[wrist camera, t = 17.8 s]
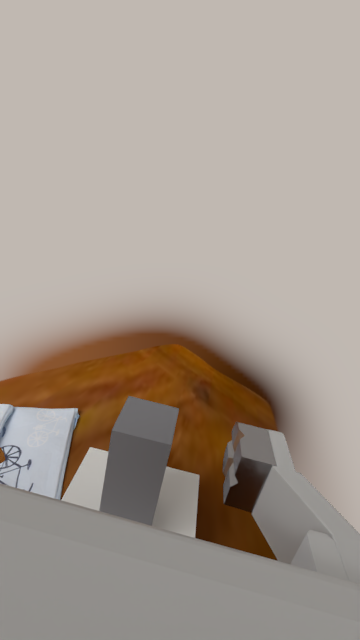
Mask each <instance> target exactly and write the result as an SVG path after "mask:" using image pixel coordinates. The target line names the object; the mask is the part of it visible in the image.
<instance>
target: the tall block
mask: <svg viewBox="0 0 360 640" xmlns="http://www.w3.org/2000/svg"><path fill="white" fill-rule="evenodd" d="M178 411H179V408H175V407H171V406H167V405H163V404H159V403H155V402H151V401H147V400H143V399H139V398H135V397H131V396H129V397H128V399H127V401H126V403H125V405H124V407H123V409H122V411H121V413H120V415H119V417H118V419H117V421H116V423H115V425H114V427H113V429H112V433H111V439H110V446H109V452H108V458H107V465H106V471H105V477H104V484H103V490H102V497H101V503H100V509H99V511H101V512H105V513H108V514H112V515H115V516H119V517H122V518H126V519H129V520H133V521H136V522H140V523H144V524H147V525H151V526H152V522H153V518H154V514H155V510H156V506H157V502H158V498H159V494H160V490H161V486H162V482H163V478H164V474H165V470H166V466H167V461H168V457H169V453H170V449H171V445H172V440H173V435H174V430H175V425H176V421H177V416H178Z"/></svg>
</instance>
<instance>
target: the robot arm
mask: <svg viewBox="0 0 360 640" xmlns="http://www.w3.org/2000/svg"><path fill="white" fill-rule="evenodd" d="M223 474H224V475H225V477H226V479H225V482H224V484H223V493H224V504H225V505H229V506H232V507H235V508H238V509H242V510H245V511H248V512H251V513H252V516H253V517H254V519H255V521H256V523H257V524H258V526H259V528H260V530H261V532H262V533H263V535H264V537H265V539H266V540H267V542H268V544H269V546H270V547H271V549H272V551H273V553H274V554H275V556H276V558H277V560H278V561H276V560H273V559H269V558H266V557H262V556H258V555H255V554H251V553H248V552H244V551H241V550H237V549H233V548H230V547H226V546H222V545H219V544H215V543H212V542H208V541H204V540H201V539H197V538H193V537H190V536H186V535H183V534H179V533H175V532H172V531H168V530H165V529H161V528H158V527H154V526H151V525H147V524H144V523H140V522H136V521H133V520H129V519H126V518H122V517H119V516H115V515H112V514H108V513H105V512H101V511H97V510H94V509H90V508H87V507H83V506H80V505H76V504H73V503H69V502H65V501H62V500H58V499H55V498H51V497H47V496H44V495H40V494H37V493H33V492H29V491H26V490H22V489H19V488H15V487H11V486H8V485H4V484H1V483H0V640H360V534H359V533H358V532H357V531H356V530H355V529H354V528H353V527H352V526H351V525H350V524H349V523H348V521H347V520H346V519H345V518H344V517H343V516H342V515H341V514H340V513H339V512H338V511H337V510H336V509H335V508H334V507H333V506H332V505H331V504H330V503H329V502H328V501H327V500H326V499H325V498H324V497H323V496H322V495H321V494H320V493H319V492H318V491H317V490H316V488H314V486H312V484H311V483H310V482H309V481H308V480H307V479H306V478H305V477H304V476H303V475H302V474H301V473H299V472H296V471H295V468H294V465H293V462H292V459H291V455H290V452H289V449H288V446H287V443H286V439H285V436H284V435H283V433H281V432H277V431H273V430H268V429H263V428H259V427H255V426H251V425H247V424H243V423H239V422H236V423H235V425H234V427H233V430H232V441H230V442H228V444H227V447H226V450H225V455H224V460H223Z"/></svg>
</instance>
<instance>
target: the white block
mask: <svg viewBox="0 0 360 640" xmlns="http://www.w3.org/2000/svg"><path fill="white" fill-rule="evenodd" d="M107 458H108V452H107V451H103V450H99V449H96V448H92V447H90V448H89V450H88V452H87V454H86V456H85V458H84V459H83V461H82V463H81V465H80V467H79V468H78V470H77V472H76V474H75V476H74V478H73V479H72V481H71V483H70V485H69V487H68V488H67V490H66V492H65V494H64V496H63V498H62V499H61V500H62V501H65V502H69V503H73V504H76V505H80V506H83V507H87V508H90V509H94V510H97V511H99V509H100V503H101V497H102V490H103V484H104V477H105V471H106V465H107ZM198 489H199V475H197V474H193V473H189V472H185V471H182V470H178V469H174V468H170V467H166V470H165V474H164V478H163V482H162V486H161V490H160V494H159V498H158V502H157V506H156V510H155V514H154V518H153V522H152V526H154V527H158V528H161V529H165V530H168V531H172V532H175V533H179V534H183V535H186V536H190V537H193V538H195V532H196V518H197V503H198Z"/></svg>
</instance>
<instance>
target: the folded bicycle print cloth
mask: <svg viewBox="0 0 360 640" xmlns="http://www.w3.org/2000/svg"><path fill="white" fill-rule="evenodd" d="M79 417H80V415H79V414H78V408H77V409H76V408H68V409H45V408H27V407H13V406H12V405H10V404H0V447H1V448H2V450H3V452H4V454H5V461H4V462H2V463H1V464H0V483H1V484H4V485H8V486H11V487H15V488H19V489H22V490H26V491H29V492H33V493H37V494H40V495H44V496H47V497H51V498H55V499H58V500H60V499H61V491H62V485H63V479H64V474H65V469H66V464H67V459H68V455H69V449H70V444H71V438H72V433H73V429H75V427H76V423H77V419H78V418H79Z"/></svg>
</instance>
